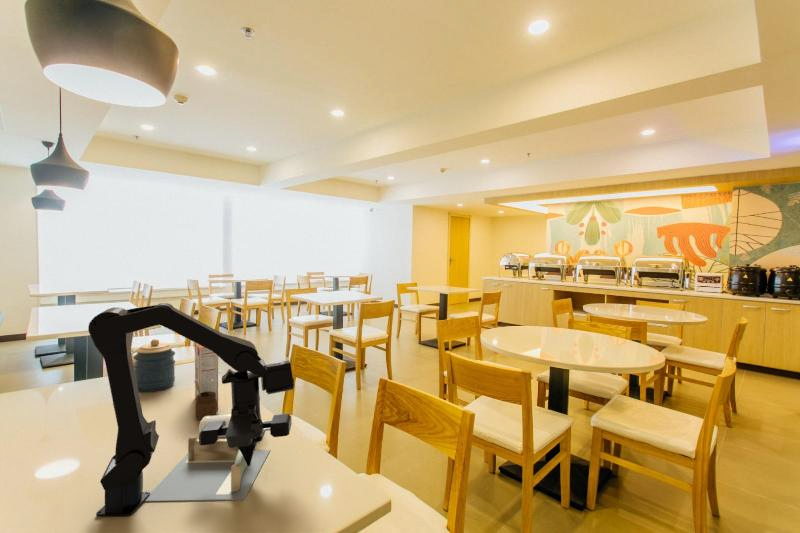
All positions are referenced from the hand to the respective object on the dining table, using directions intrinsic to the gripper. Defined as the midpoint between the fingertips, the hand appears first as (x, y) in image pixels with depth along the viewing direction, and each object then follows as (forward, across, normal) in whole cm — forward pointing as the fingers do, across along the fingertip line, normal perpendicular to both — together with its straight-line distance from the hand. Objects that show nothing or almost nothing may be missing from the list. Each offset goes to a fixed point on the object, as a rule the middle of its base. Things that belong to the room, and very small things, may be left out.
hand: (249, 465), depth 84 cm
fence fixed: (+2, -9, +8) cm, 12 cm away
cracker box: (+2, -23, +44) cm, 50 cm away
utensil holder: (+2, -20, +34) cm, 39 cm away
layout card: (+2, -8, +3) cm, 9 cm away
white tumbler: (-1, -17, +21) cm, 27 cm away
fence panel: (+2, -2, 0) cm, 3 cm away
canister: (+1, -47, +63) cm, 78 cm away
